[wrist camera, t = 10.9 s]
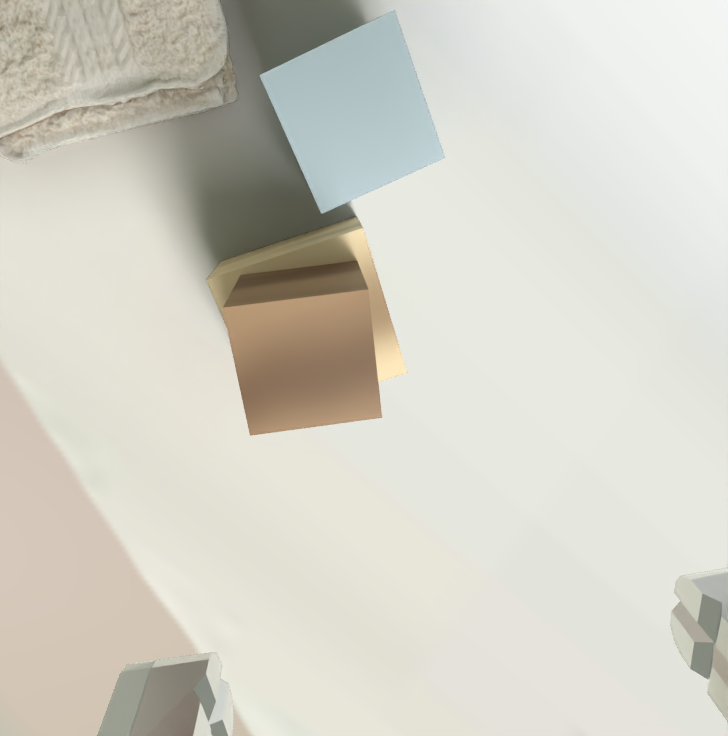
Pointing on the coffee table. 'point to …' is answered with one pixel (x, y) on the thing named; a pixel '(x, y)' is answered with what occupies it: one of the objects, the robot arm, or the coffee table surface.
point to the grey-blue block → (354, 112)
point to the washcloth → (106, 68)
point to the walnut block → (304, 347)
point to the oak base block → (314, 250)
